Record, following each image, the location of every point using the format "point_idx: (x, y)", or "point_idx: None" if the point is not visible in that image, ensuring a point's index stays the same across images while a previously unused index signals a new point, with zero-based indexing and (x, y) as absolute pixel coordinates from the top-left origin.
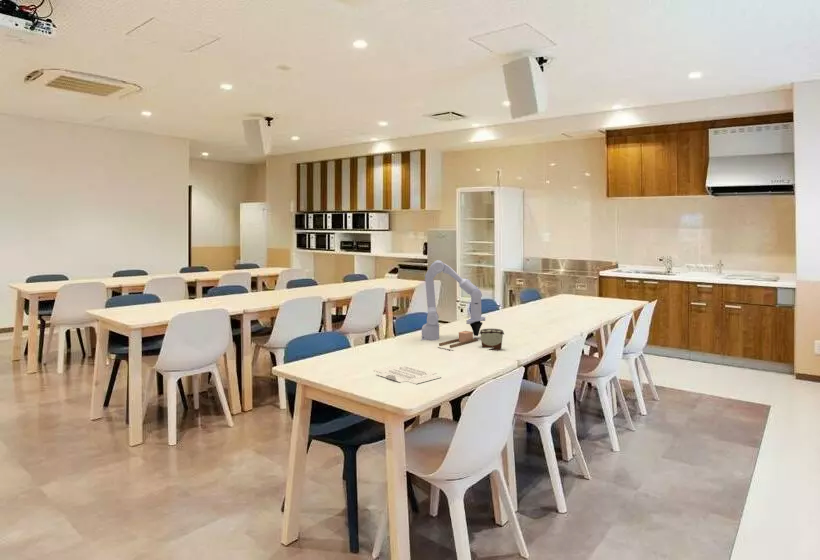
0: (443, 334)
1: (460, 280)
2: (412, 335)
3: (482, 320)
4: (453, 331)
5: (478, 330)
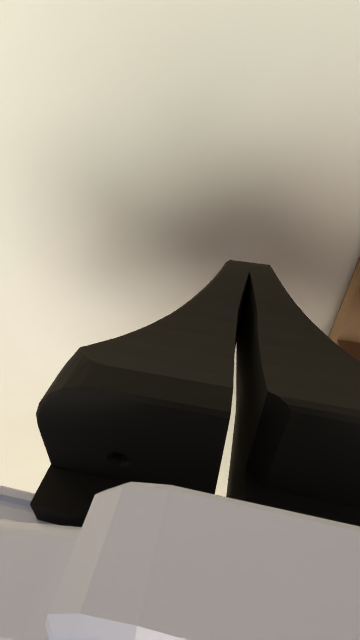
0: None
1: None
2: None
3: (193, 503)
4: None
5: (238, 301)
